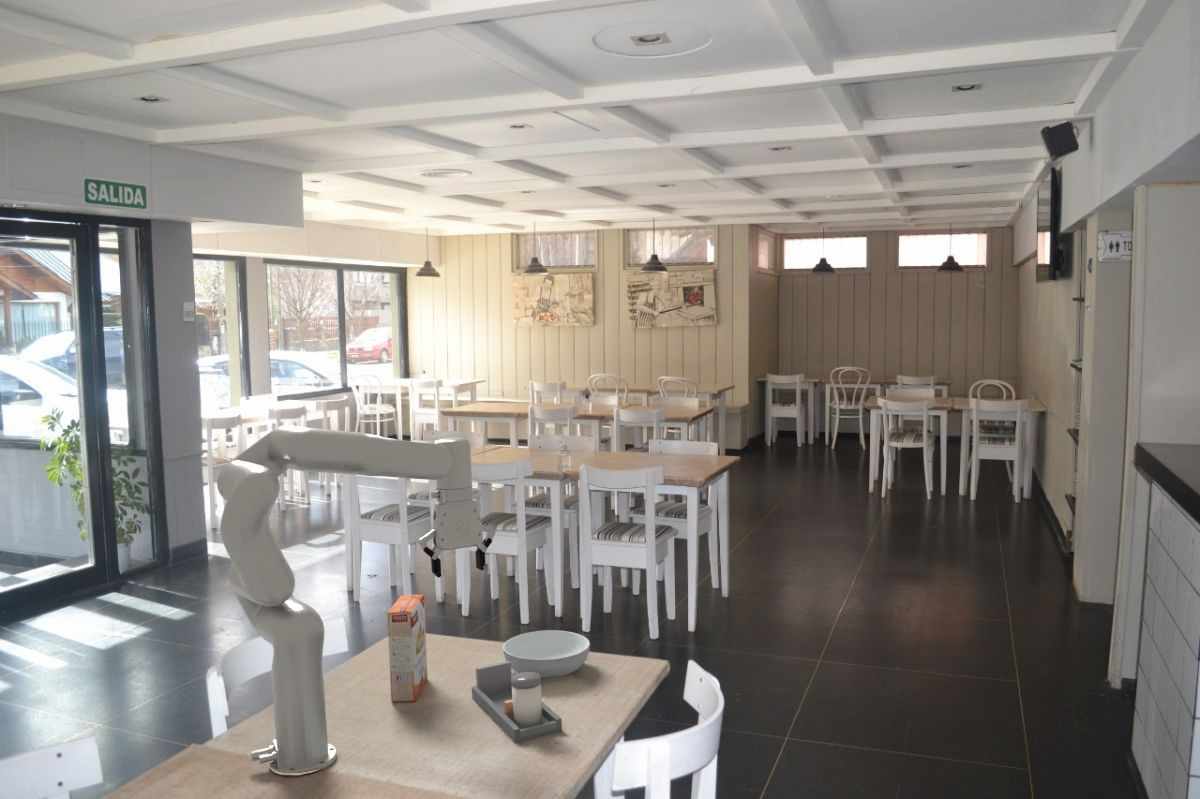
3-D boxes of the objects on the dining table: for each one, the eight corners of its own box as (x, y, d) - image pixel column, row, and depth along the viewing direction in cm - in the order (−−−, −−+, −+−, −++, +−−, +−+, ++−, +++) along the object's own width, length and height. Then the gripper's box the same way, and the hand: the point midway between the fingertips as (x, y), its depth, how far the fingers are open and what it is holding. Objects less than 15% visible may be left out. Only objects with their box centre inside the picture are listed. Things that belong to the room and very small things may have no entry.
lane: (514, 742, 188) (513, 709, 187) (472, 698, 211) (470, 669, 211) (562, 730, 193) (560, 698, 192) (515, 688, 216) (513, 659, 215)
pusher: (506, 719, 196) (506, 703, 196) (498, 711, 201) (497, 694, 200) (538, 712, 199) (537, 695, 199) (529, 703, 204) (528, 687, 204)
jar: (519, 732, 191) (517, 685, 190) (508, 721, 196) (506, 675, 196) (547, 725, 194) (545, 679, 193) (535, 714, 199) (533, 669, 198)
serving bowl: (582, 689, 214) (581, 660, 213) (494, 687, 217) (492, 658, 217) (597, 656, 235) (596, 630, 234) (516, 655, 238) (514, 628, 237)
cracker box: (417, 702, 210) (412, 611, 208) (390, 703, 210) (385, 612, 208) (429, 678, 224) (425, 593, 222) (404, 679, 224) (399, 594, 222)
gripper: (420, 502, 195) (425, 582, 197) (498, 492, 203) (502, 570, 204) (411, 497, 202) (415, 574, 203) (486, 487, 210) (490, 562, 211)
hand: (459, 572), depth 204 cm, fingers open, 9 cm apart
